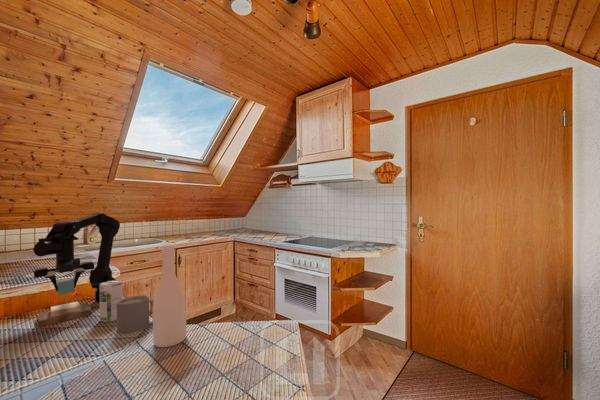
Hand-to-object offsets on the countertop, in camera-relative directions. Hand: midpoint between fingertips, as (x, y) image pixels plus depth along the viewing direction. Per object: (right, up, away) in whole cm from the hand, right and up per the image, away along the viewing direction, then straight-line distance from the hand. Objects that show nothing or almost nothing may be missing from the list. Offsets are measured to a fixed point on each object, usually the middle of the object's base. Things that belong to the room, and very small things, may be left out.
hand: (65, 289), depth 113 cm
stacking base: (0, -11, 0) cm, 11 cm away
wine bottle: (+56, -8, -27) cm, 63 cm away
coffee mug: (+39, -9, -14) cm, 42 cm away
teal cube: (0, -1, 0) cm, 1 cm away
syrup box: (+23, -10, -6) cm, 26 cm away
